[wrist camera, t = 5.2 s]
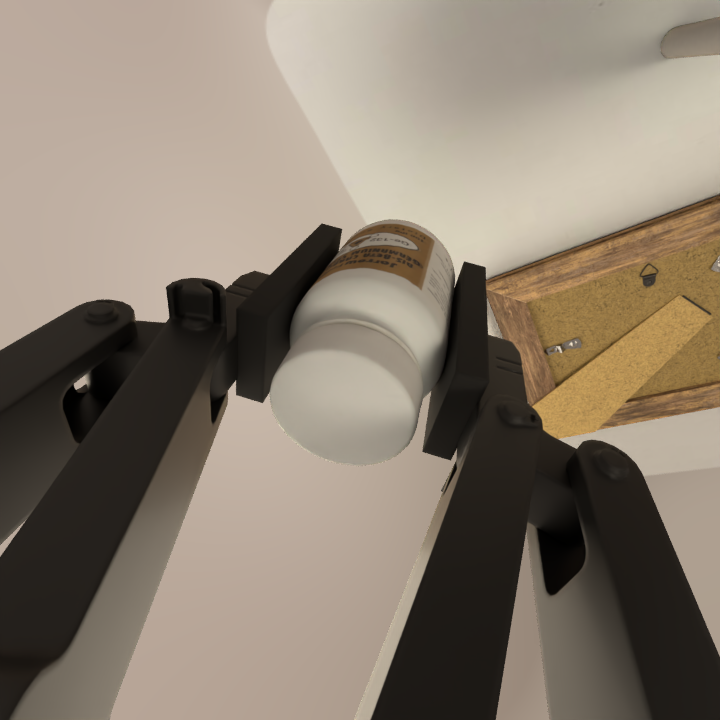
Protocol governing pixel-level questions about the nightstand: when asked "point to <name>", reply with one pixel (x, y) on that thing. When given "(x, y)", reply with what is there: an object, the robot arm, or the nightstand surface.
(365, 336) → the pill bottle
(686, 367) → the picture frame
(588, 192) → the nightstand surface
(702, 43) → the legged open box
